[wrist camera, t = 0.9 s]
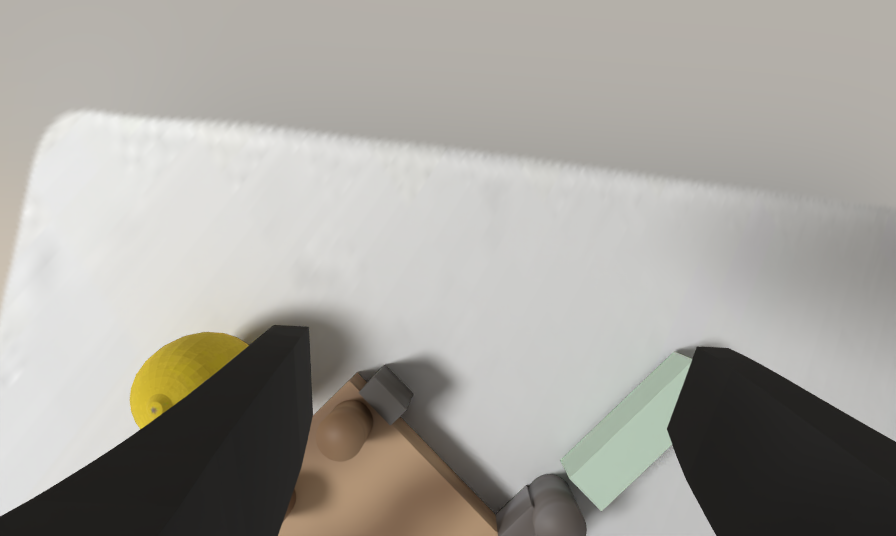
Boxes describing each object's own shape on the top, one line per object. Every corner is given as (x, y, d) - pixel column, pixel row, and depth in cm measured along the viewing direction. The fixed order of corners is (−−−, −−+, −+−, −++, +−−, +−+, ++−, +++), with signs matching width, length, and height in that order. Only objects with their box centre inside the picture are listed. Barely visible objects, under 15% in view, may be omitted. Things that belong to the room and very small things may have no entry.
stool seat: (601, 518, 28) (627, 566, 24) (438, 673, 29) (433, 749, 24) (408, 321, 29) (398, 332, 24) (250, 477, 29) (211, 516, 25)
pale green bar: (589, 490, 28) (601, 511, 26) (560, 460, 28) (569, 478, 26) (704, 381, 28) (726, 392, 25) (674, 351, 28) (693, 359, 26)
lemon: (178, 347, 29) (70, 379, 21) (261, 308, 29) (183, 325, 21) (217, 431, 29) (124, 494, 21) (300, 393, 29) (238, 441, 21)
